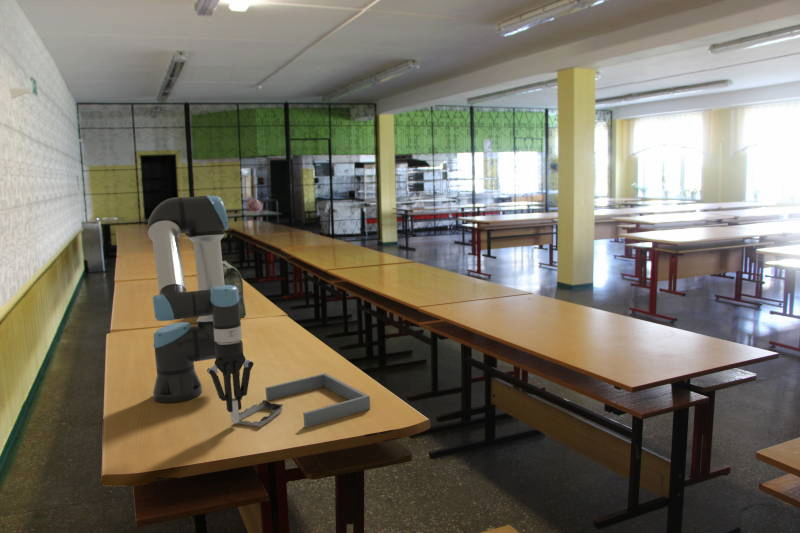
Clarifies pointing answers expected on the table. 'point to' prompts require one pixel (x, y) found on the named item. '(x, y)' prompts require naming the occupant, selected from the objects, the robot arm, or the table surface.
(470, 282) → the table surface
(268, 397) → the box
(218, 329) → the robot arm
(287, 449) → the table surface
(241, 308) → the bag
